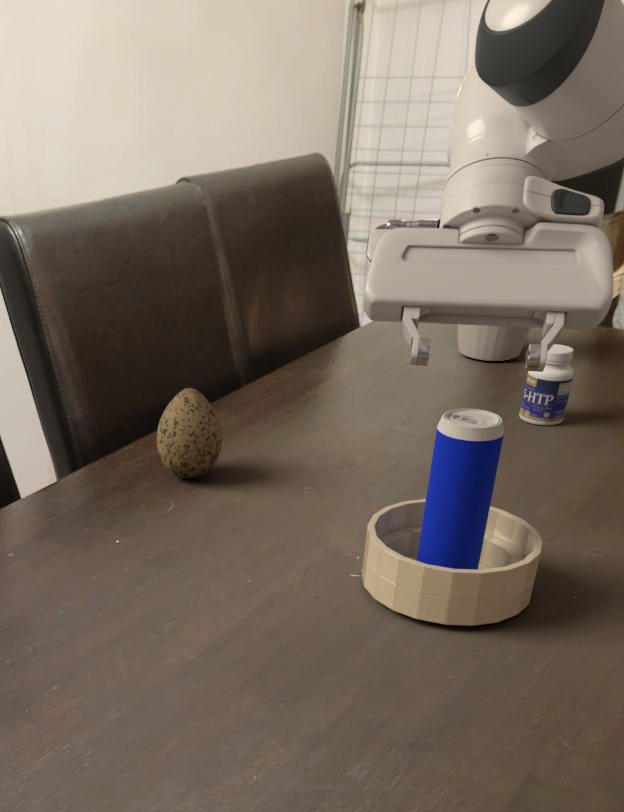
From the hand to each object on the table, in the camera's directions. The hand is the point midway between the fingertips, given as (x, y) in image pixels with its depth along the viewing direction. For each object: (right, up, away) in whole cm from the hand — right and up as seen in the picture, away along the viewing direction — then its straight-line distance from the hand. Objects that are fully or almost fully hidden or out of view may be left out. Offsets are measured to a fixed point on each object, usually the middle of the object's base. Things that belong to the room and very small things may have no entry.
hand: (476, 365), depth 81 cm
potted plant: (+24, +20, +63) cm, 71 cm away
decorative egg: (-23, -5, +25) cm, 35 cm away
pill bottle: (+22, +4, +39) cm, 45 cm away
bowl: (-2, -19, +3) cm, 19 cm away
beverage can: (-2, -19, +3) cm, 19 cm away
